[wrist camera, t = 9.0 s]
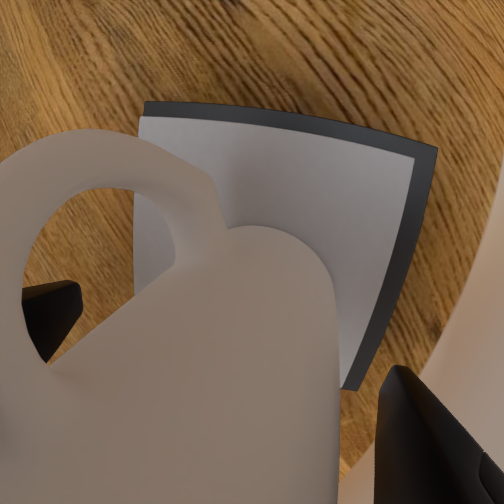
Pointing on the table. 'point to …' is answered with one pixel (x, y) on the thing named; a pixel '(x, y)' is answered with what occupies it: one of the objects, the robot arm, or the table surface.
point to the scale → (302, 202)
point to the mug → (168, 351)
